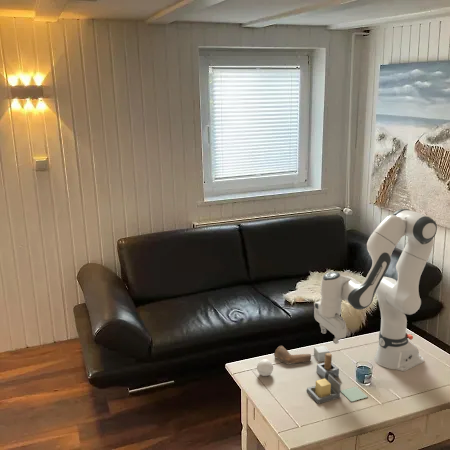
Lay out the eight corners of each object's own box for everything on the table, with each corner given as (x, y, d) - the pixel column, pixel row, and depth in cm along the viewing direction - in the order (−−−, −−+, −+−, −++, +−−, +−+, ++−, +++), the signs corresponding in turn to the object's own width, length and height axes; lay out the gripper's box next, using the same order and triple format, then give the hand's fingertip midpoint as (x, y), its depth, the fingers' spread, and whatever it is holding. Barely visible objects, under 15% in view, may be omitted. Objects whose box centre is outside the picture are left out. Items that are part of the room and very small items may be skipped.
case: (328, 385, 223) (329, 373, 221) (340, 397, 215) (341, 384, 213) (306, 391, 219) (307, 379, 217) (318, 403, 211) (318, 391, 209)
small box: (329, 360, 242) (330, 351, 241) (318, 362, 241) (318, 352, 240) (324, 354, 248) (324, 345, 246) (313, 355, 246) (313, 346, 245)
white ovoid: (269, 369, 236) (269, 354, 234) (275, 377, 229) (275, 363, 227) (248, 372, 233) (248, 358, 231) (254, 381, 227) (254, 367, 224)
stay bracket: (329, 368, 235) (330, 361, 234) (338, 376, 229) (338, 368, 228) (316, 372, 233) (316, 364, 232) (324, 380, 227) (325, 372, 226)
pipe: (313, 354, 239) (306, 340, 248) (279, 359, 235) (273, 345, 244) (312, 365, 242) (304, 351, 250) (278, 370, 238) (272, 355, 247)
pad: (356, 387, 222) (356, 386, 221) (367, 397, 214) (367, 396, 214) (340, 391, 219) (340, 390, 219) (351, 402, 212) (351, 401, 212)
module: (324, 390, 220) (324, 378, 218) (330, 396, 216) (330, 384, 214) (315, 393, 218) (315, 380, 216) (320, 399, 214) (321, 386, 212)
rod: (328, 372, 233) (329, 352, 230) (332, 375, 230) (333, 355, 227) (322, 373, 232) (323, 353, 229) (326, 377, 229) (327, 357, 226)
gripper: (351, 317, 214) (349, 347, 218) (324, 298, 232) (323, 326, 236) (338, 321, 211) (336, 350, 216) (311, 301, 230) (311, 329, 234)
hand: (329, 337), depth 226 cm, fingers open, 8 cm apart
